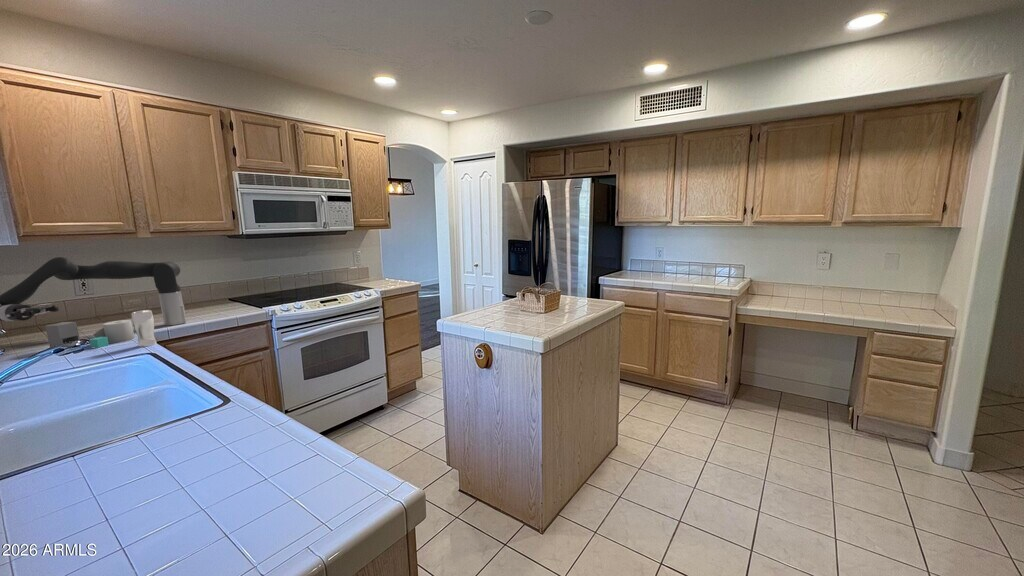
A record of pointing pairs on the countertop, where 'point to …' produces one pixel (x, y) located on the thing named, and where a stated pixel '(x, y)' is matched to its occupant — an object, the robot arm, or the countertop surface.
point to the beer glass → (144, 327)
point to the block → (99, 342)
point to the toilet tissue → (116, 331)
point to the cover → (62, 333)
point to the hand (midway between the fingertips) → (45, 311)
